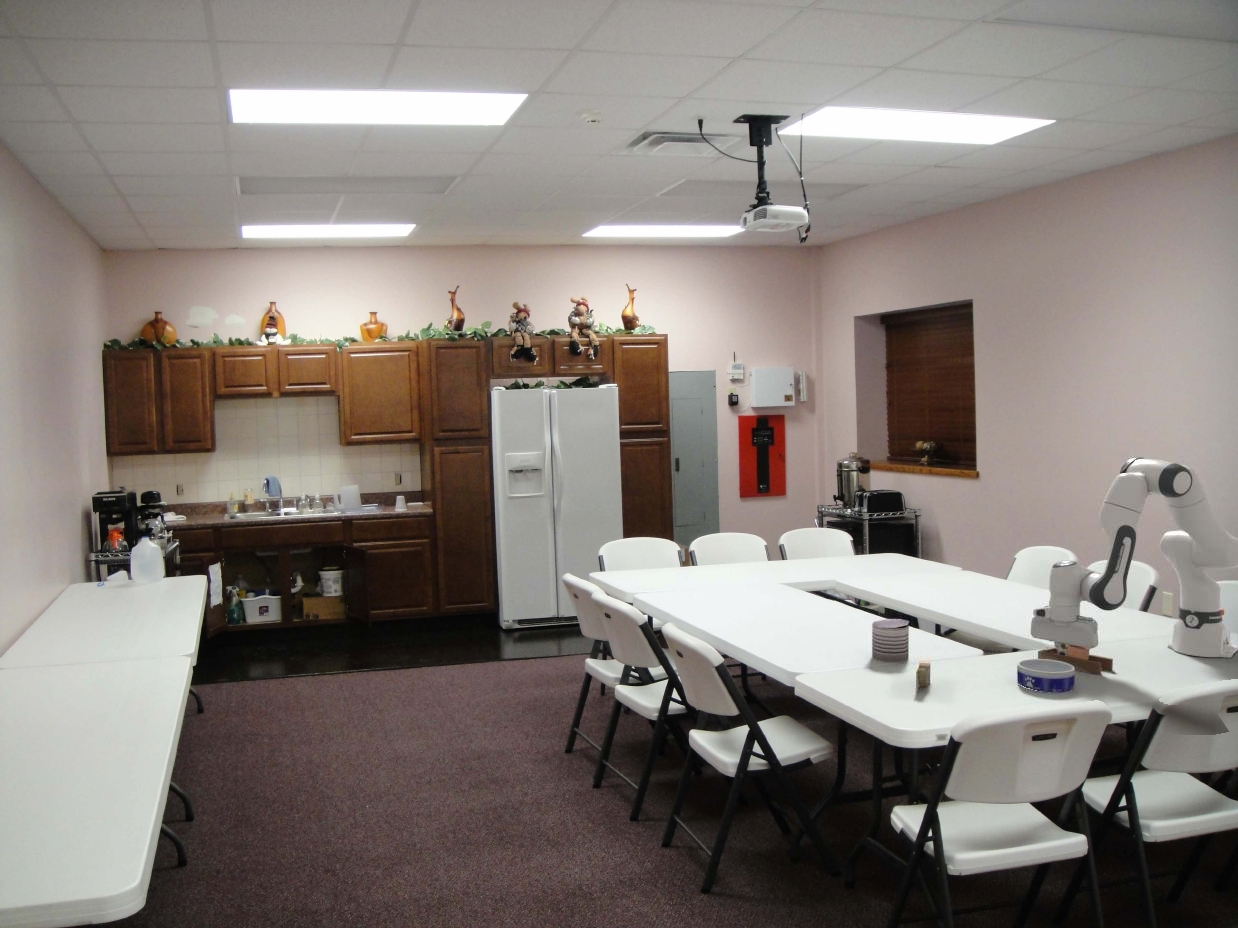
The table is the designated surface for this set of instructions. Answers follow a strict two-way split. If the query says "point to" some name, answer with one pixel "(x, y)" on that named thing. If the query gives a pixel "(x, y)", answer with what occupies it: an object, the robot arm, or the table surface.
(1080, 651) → the block
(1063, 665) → the dog bowl
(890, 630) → the can
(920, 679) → the model
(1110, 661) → the channel
